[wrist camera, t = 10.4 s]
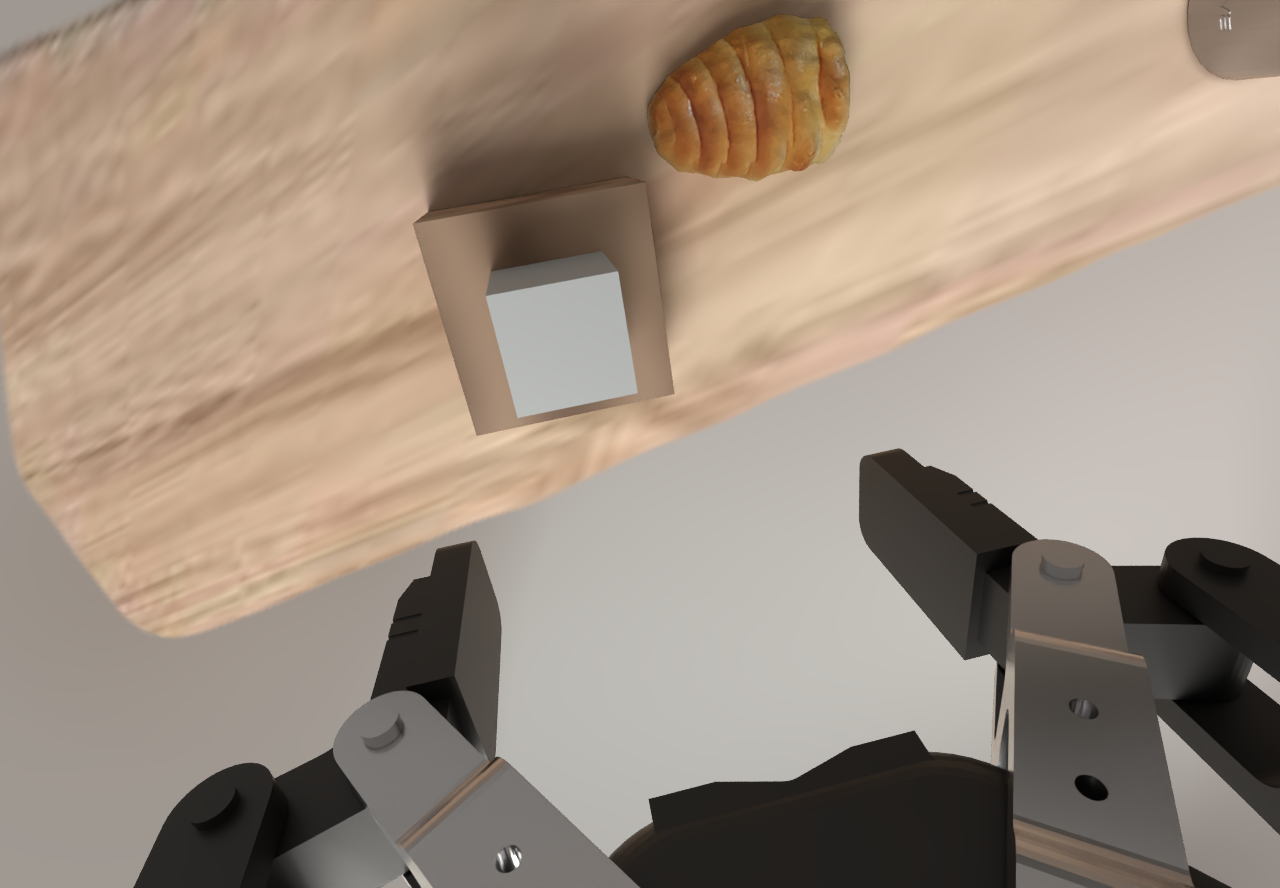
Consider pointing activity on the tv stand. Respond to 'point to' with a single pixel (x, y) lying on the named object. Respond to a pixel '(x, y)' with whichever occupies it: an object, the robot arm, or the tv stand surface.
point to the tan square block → (535, 233)
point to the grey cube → (562, 333)
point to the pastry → (755, 101)
